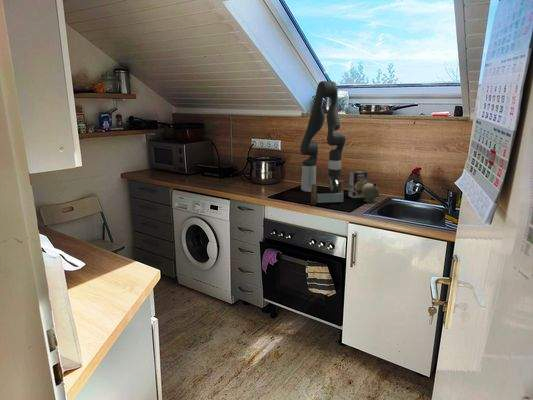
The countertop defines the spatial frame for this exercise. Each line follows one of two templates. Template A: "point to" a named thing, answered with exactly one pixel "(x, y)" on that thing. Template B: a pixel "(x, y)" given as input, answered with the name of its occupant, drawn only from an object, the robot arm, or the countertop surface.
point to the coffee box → (357, 183)
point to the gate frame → (314, 190)
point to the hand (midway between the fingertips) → (333, 196)
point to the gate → (330, 197)
